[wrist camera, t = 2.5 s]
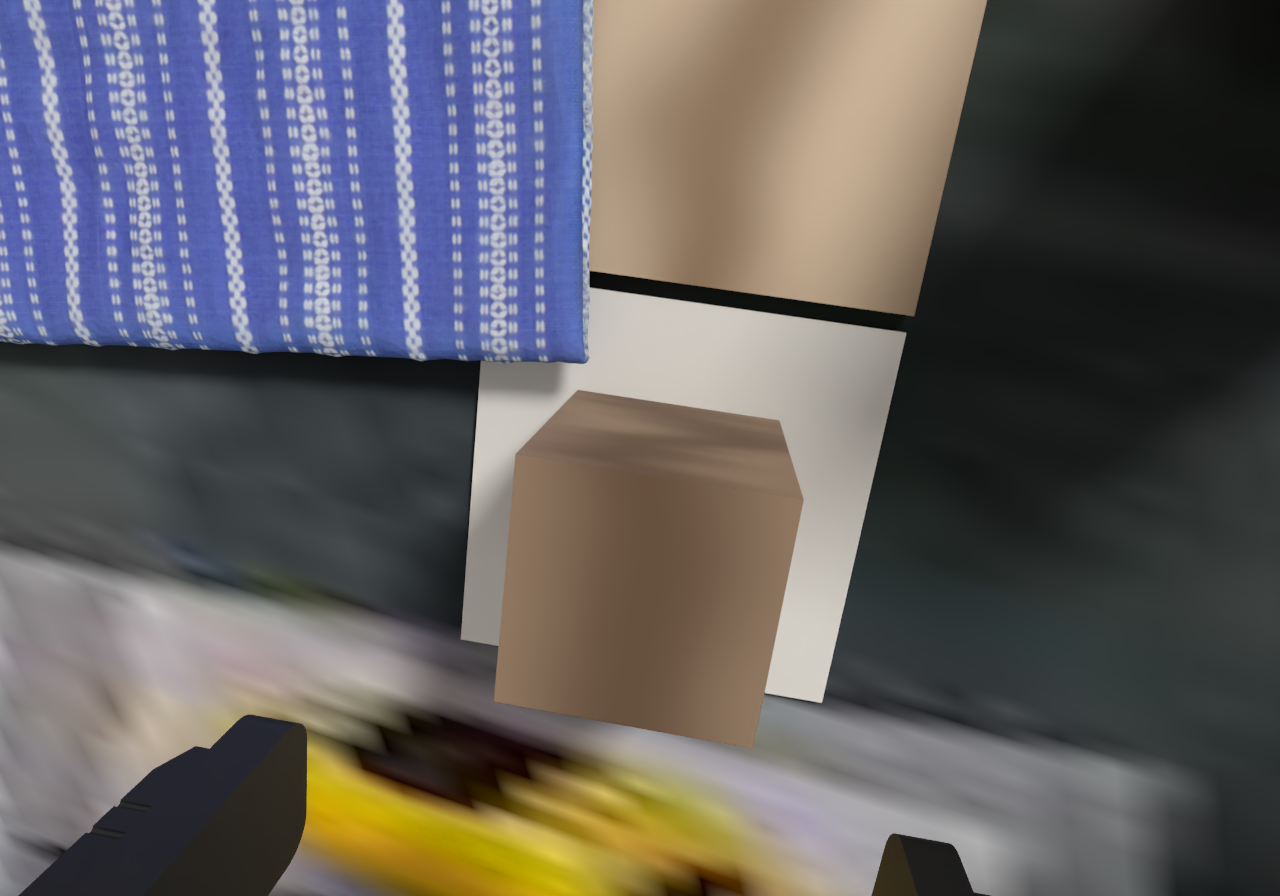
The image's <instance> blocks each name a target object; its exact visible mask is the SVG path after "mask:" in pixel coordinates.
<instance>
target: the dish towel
mask: <svg viewBox="0 0 1280 896" xmlns="http://www.w3.org/2000/svg"><path fill="white" fill-rule="evenodd" d="M593 35H594V34H593V0H0V341H3V342H11V343H17V344H27V343H38V344H46V345H54V346H56V345H68V344H87V345H93V346H98V347H100V346H105V345H127V346H141V347H154V348H164V349H170V350H177V349H194V348H196V349H203V350H231V351H243V352H248V353H253V354H258V353H264V352H296V353H318V354H325V355H330V356H335V357H341V356H367V357H394V358H408V359H414V360H418V361H427V360H437V359H452V360H461V361H477V360H481V361H488V362H497V363H501V364H509V363H513V362H542V363H551V362H564V363H577V364H584V363H587V361H588V360H589V358H590V355H589V350H588V336H587V335H588V323H589V313H590V277H589V243H590V222H591V215H590V212H591V206H592V200H591V192H592V178H591V173H592V160H591V158H592V150H593V143H592V136H593V124H592V117H593V107H592V94H593V86H592V76H593V68H592V59H593V44H592V42H593Z"/></svg>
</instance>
